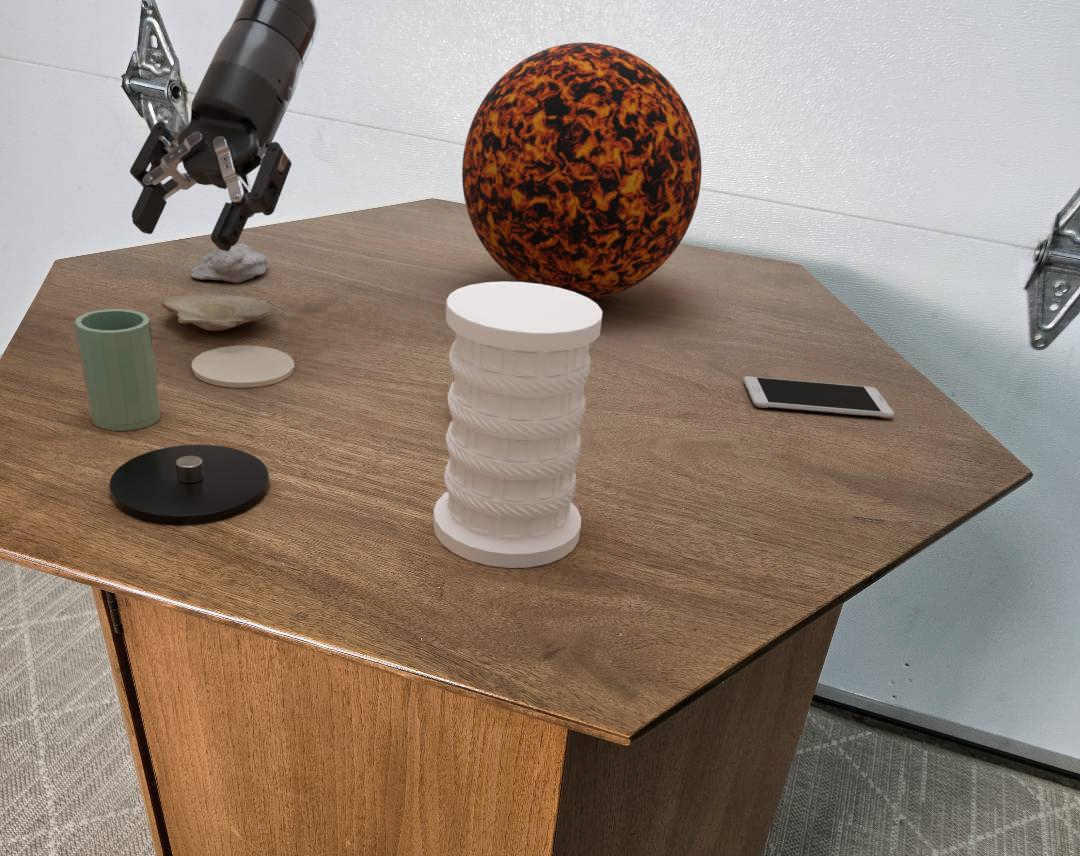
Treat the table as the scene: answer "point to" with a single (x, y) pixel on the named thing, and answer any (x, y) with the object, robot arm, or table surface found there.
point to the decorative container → (515, 422)
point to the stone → (231, 264)
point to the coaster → (243, 366)
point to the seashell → (216, 310)
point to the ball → (582, 169)
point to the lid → (189, 484)
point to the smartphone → (817, 397)
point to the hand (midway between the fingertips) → (179, 237)
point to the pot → (118, 369)
